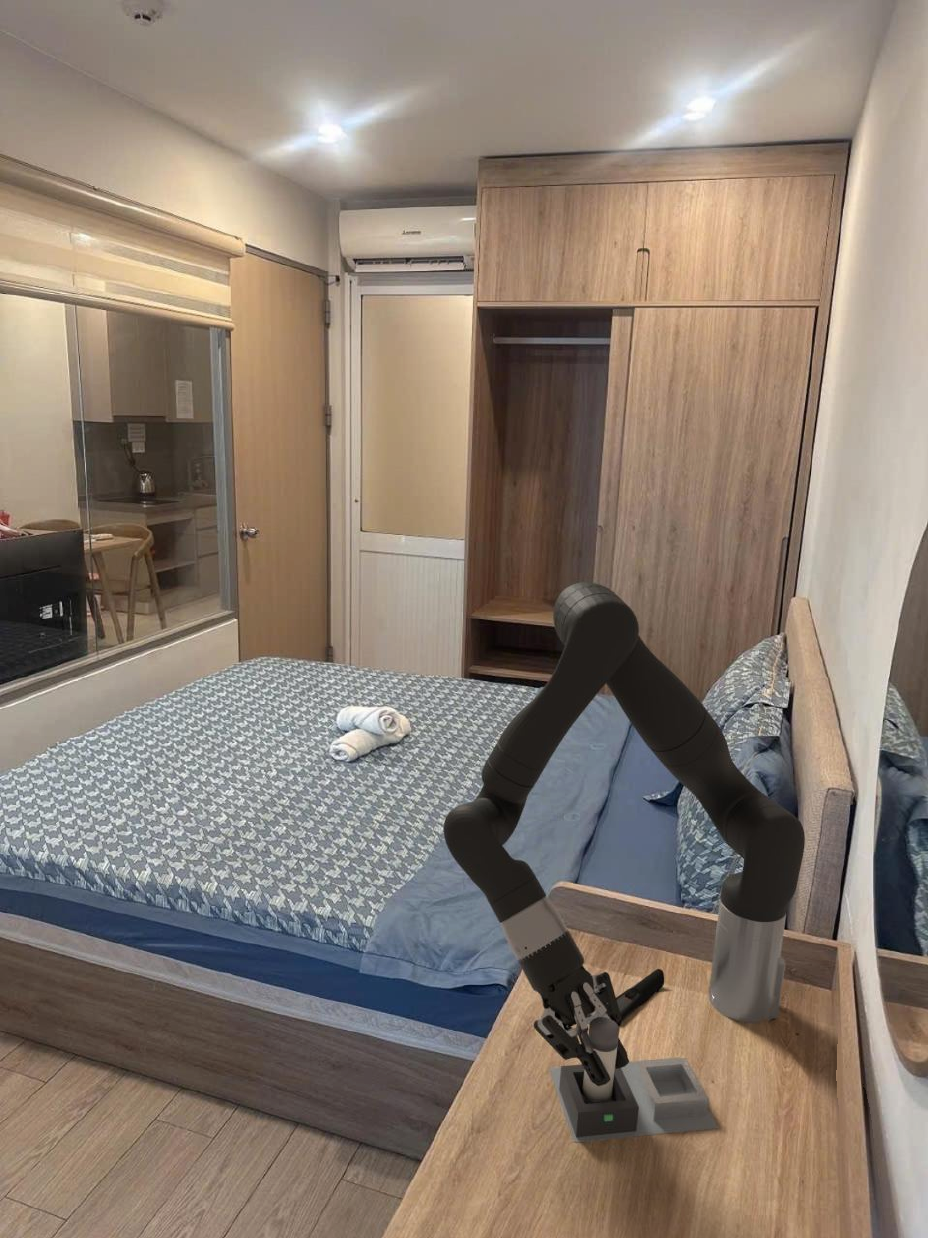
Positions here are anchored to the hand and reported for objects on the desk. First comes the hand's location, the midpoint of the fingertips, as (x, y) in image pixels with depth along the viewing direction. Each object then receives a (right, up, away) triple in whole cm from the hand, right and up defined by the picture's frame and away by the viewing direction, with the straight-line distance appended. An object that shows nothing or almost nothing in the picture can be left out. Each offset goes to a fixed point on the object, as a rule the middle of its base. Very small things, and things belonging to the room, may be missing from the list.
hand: (613, 1074), depth 105 cm
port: (-2, -6, +3) cm, 7 cm away
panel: (+3, -7, +5) cm, 9 cm away
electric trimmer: (+7, -3, +24) cm, 25 cm away
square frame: (+8, -6, +5) cm, 11 cm away
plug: (-2, -3, +2) cm, 4 cm away
